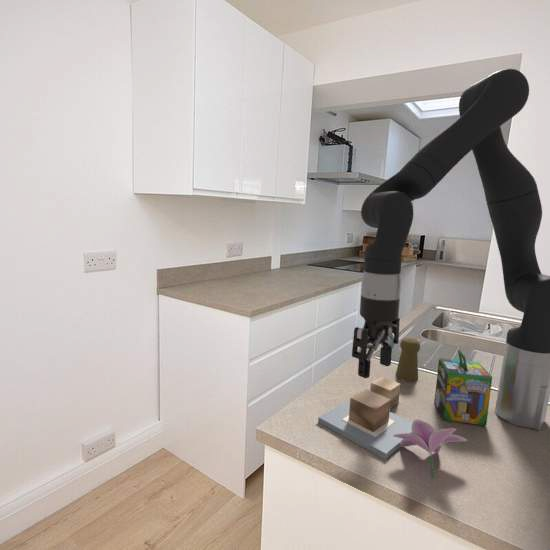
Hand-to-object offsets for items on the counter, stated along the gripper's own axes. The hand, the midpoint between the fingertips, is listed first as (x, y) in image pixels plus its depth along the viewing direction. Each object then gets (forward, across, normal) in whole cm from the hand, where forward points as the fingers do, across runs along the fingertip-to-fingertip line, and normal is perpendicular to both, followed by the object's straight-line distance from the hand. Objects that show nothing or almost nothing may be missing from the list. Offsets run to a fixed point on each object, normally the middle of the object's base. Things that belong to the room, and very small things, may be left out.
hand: (374, 370), depth 76 cm
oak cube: (+13, +12, +4) cm, 18 cm away
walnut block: (+11, 0, 0) cm, 11 cm away
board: (+13, 0, 0) cm, 13 cm away
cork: (+13, +30, +6) cm, 33 cm away
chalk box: (+14, +21, -11) cm, 27 cm away
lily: (+13, -2, -13) cm, 19 cm away
